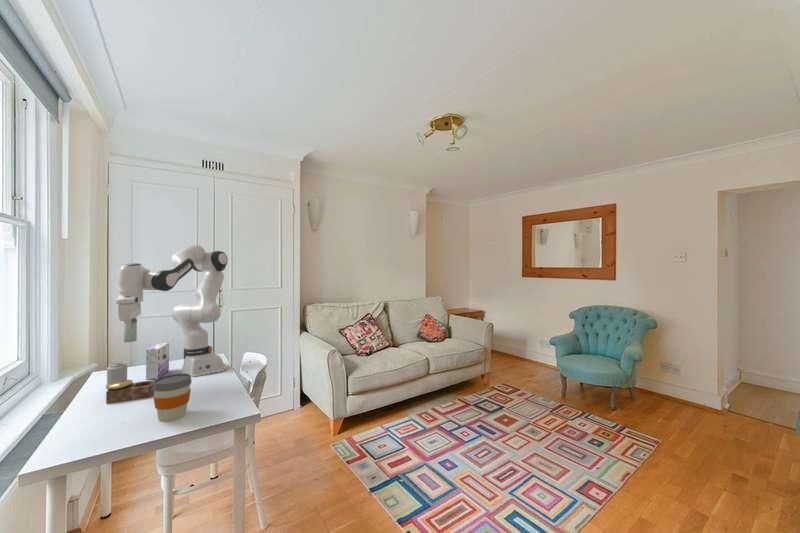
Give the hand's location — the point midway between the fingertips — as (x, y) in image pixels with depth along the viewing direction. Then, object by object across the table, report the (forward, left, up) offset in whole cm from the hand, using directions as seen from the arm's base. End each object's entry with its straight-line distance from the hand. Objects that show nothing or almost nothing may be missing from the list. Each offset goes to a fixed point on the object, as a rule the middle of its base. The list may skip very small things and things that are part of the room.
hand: (130, 327), depth 147 cm
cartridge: (0, 0, -6) cm, 6 cm away
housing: (-1, +3, -31) cm, 31 cm away
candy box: (-6, -27, -31) cm, 42 cm away
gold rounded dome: (+3, +3, -30) cm, 31 cm away
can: (+8, -14, -31) cm, 35 cm away
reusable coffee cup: (-21, +35, -31) cm, 51 cm away
